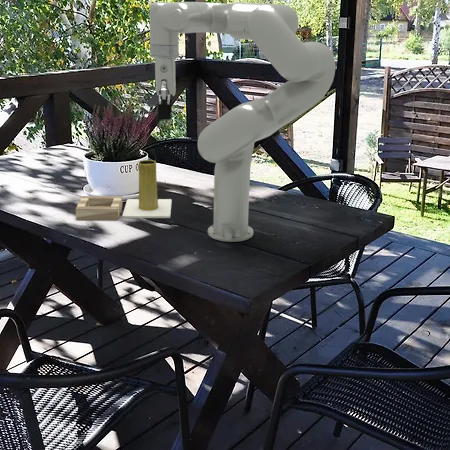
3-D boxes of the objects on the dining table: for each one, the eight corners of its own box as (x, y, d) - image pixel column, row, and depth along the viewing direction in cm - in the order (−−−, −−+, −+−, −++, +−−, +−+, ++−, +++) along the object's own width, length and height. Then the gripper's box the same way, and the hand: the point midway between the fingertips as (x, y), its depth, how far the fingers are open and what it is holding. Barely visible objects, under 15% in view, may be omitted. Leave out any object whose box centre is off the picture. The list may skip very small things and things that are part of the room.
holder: (118, 220, 174) (117, 208, 173) (76, 220, 174) (75, 208, 172) (122, 206, 186) (122, 196, 184) (83, 206, 185) (82, 196, 184)
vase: (134, 208, 183) (132, 162, 178) (146, 203, 188) (144, 158, 183) (151, 211, 180) (149, 165, 175) (162, 206, 185) (161, 161, 180)
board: (170, 218, 177) (170, 216, 177) (122, 217, 176) (122, 216, 176) (171, 201, 192) (171, 199, 192) (127, 200, 191) (127, 199, 191)
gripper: (178, 54, 152) (178, 122, 158) (179, 49, 168) (179, 110, 174) (148, 54, 151) (149, 121, 157) (152, 48, 167) (153, 110, 173)
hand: (165, 115), depth 166 cm, fingers open, 9 cm apart
